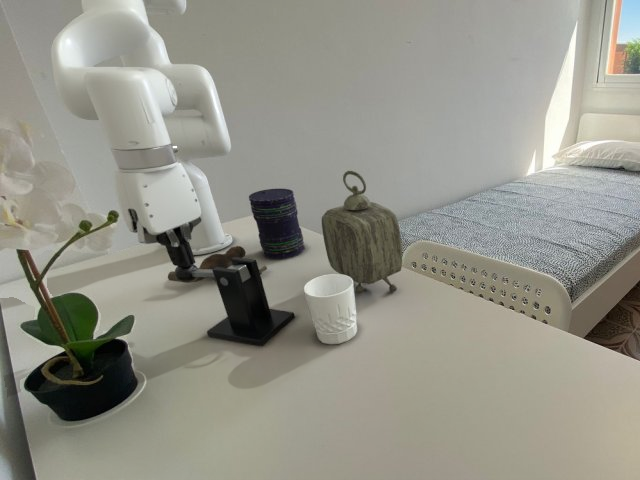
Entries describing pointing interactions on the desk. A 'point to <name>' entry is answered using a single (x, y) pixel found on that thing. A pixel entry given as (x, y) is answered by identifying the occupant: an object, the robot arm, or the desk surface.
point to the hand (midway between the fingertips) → (184, 264)
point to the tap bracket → (246, 307)
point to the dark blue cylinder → (277, 223)
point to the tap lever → (205, 273)
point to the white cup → (332, 307)
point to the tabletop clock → (362, 239)
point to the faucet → (218, 262)
